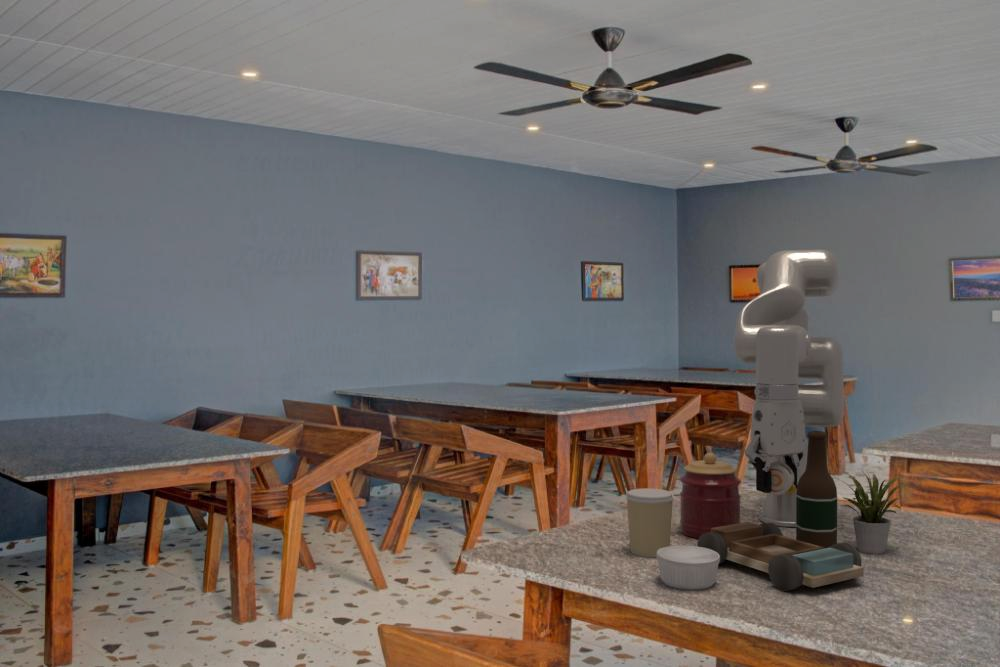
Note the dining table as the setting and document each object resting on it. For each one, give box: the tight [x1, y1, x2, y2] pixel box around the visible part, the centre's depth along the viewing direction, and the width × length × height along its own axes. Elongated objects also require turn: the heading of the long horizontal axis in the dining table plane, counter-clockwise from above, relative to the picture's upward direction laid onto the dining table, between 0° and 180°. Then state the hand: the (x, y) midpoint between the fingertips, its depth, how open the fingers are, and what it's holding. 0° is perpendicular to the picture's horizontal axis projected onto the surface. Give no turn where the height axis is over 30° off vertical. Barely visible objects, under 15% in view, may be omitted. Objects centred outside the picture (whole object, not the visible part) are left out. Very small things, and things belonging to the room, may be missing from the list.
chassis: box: [696, 521, 865, 592], centre depth 165 cm, size 28×17×6 cm, turn 30°
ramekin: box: [655, 545, 720, 591], centre depth 158 cm, size 11×11×5 cm
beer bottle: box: [795, 430, 838, 548], centre depth 179 cm, size 8×8×24 cm
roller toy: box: [762, 462, 796, 495], centre depth 164 cm, size 4×6×6 cm
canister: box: [679, 452, 742, 539], centre depth 192 cm, size 13×13×18 cm
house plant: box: [837, 470, 912, 555], centre depth 178 cm, size 14×14×16 cm
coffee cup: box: [625, 487, 674, 558], centre depth 177 cm, size 9×9×12 cm
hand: (776, 488), depth 164 cm, fingers closed on roller toy, 6 cm apart
